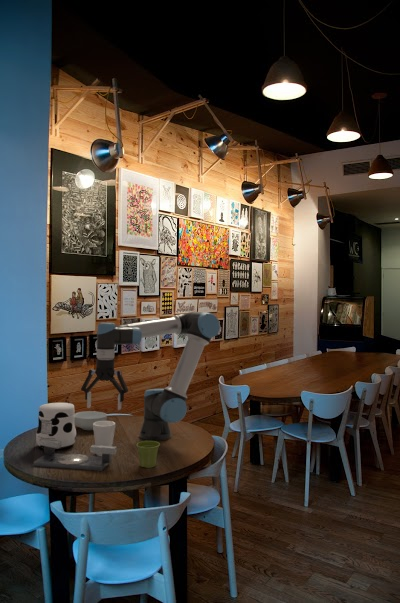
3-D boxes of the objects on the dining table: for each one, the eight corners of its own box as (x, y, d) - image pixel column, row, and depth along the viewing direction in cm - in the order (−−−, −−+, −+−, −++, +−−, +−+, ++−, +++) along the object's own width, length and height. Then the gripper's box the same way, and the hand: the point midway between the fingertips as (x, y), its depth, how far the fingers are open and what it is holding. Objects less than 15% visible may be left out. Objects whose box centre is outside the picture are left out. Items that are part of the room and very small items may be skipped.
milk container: (73, 439, 231) (74, 401, 231) (78, 450, 214) (78, 409, 214) (35, 442, 225) (35, 403, 225) (36, 453, 208) (37, 411, 208)
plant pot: (139, 470, 191) (140, 448, 190) (133, 463, 199) (133, 442, 199) (162, 468, 194) (163, 446, 194) (155, 460, 203) (155, 439, 203)
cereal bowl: (94, 434, 240) (94, 419, 240) (66, 430, 246) (66, 416, 246) (112, 426, 256) (113, 412, 256) (85, 422, 262) (85, 409, 262)
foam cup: (95, 458, 204) (96, 427, 204) (89, 452, 212) (90, 422, 212) (117, 455, 209) (118, 424, 208) (111, 449, 217) (111, 419, 217)
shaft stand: (120, 460, 202) (120, 442, 202) (110, 471, 189) (111, 452, 189) (41, 455, 207) (41, 437, 207) (26, 465, 194) (26, 446, 194)
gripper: (74, 358, 208) (72, 408, 208) (131, 361, 205) (130, 411, 205) (80, 356, 216) (79, 404, 216) (136, 359, 212) (134, 408, 212)
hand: (104, 408), depth 210 cm, fingers open, 13 cm apart
